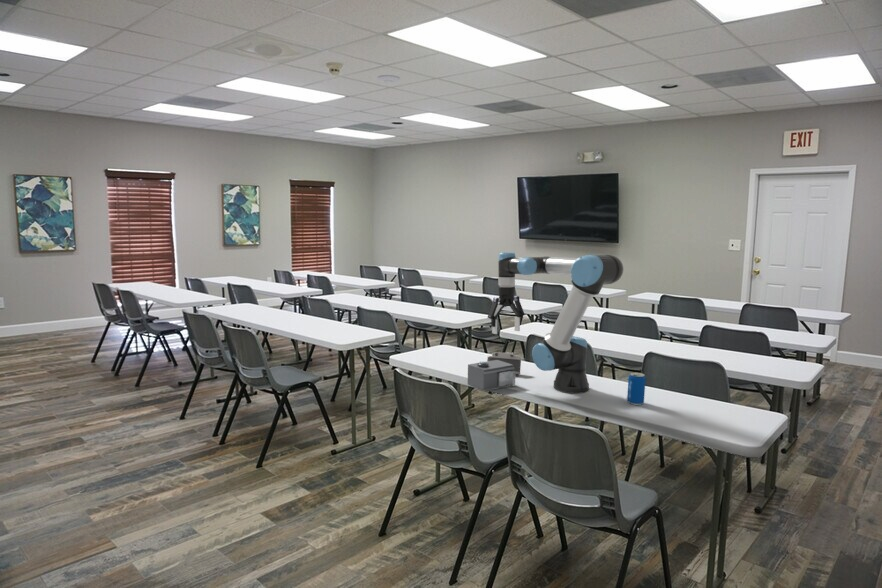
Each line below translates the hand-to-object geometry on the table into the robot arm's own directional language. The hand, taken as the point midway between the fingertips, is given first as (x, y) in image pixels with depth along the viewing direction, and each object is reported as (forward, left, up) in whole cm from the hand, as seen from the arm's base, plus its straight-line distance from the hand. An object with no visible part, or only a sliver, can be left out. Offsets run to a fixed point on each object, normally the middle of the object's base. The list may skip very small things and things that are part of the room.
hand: (506, 332), depth 260 cm
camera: (+8, -6, -22) cm, 24 cm away
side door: (-12, +10, -21) cm, 26 cm away
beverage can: (-56, -21, -22) cm, 64 cm away
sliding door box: (-5, +13, -22) cm, 25 cm away
